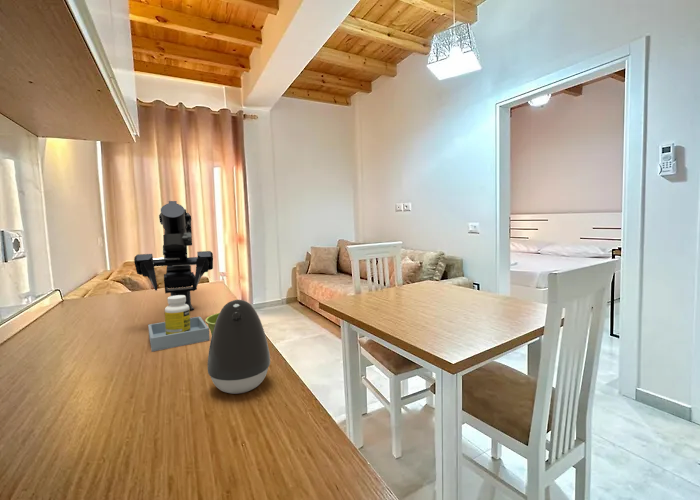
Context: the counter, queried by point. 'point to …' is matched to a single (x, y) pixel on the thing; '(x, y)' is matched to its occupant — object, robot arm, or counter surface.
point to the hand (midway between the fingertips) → (176, 287)
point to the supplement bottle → (177, 315)
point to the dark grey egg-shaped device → (238, 349)
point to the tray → (177, 335)
